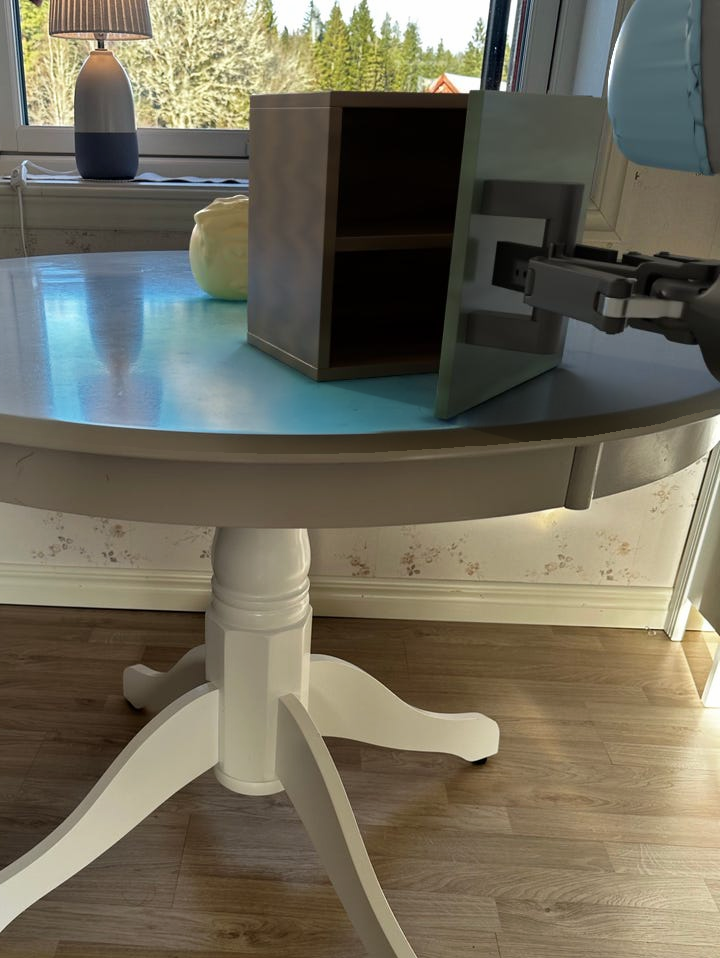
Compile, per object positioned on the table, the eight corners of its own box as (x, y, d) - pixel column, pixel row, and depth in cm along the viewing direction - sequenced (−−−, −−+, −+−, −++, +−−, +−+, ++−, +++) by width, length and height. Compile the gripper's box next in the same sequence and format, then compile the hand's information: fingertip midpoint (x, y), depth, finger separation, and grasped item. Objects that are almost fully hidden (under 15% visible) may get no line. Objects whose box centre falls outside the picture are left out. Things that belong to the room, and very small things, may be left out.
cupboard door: (633, 374, 78) (690, 97, 69) (530, 435, 63) (585, 88, 53) (550, 362, 82) (593, 97, 72) (433, 417, 66) (468, 89, 57)
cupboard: (550, 362, 82) (593, 95, 73) (316, 381, 75) (330, 90, 66) (452, 328, 95) (478, 98, 86) (246, 342, 89) (249, 94, 79)
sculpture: (200, 306, 105) (199, 199, 100) (182, 289, 115) (180, 191, 110) (300, 303, 107) (305, 198, 102) (274, 287, 117) (276, 190, 112)
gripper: (668, 418, 44) (411, 326, 63) (916, 392, 49) (608, 315, 68) (708, 241, 40) (423, 201, 59) (972, 233, 45) (630, 199, 64)
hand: (522, 262), depth 64 cm, fingers open, 3 cm apart
